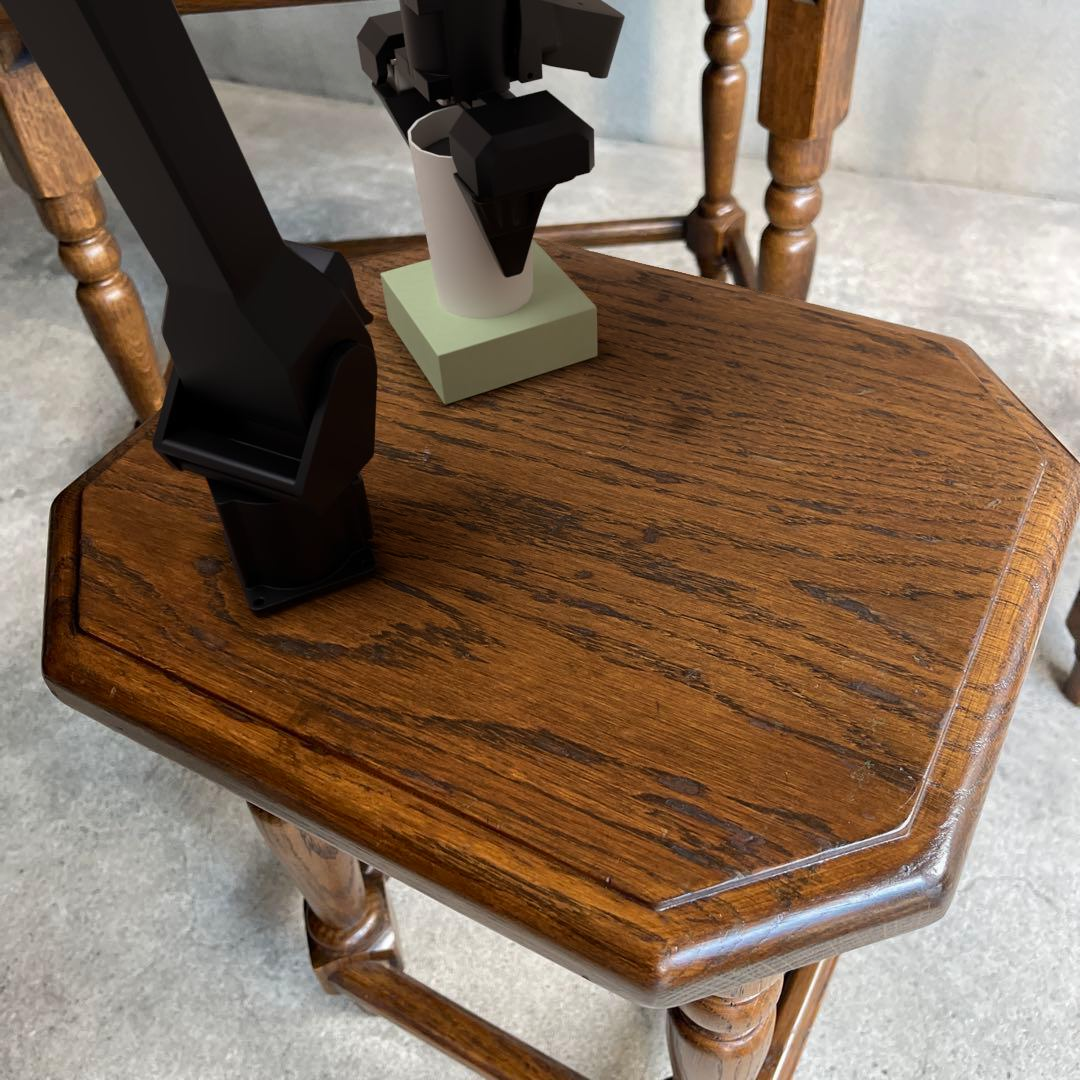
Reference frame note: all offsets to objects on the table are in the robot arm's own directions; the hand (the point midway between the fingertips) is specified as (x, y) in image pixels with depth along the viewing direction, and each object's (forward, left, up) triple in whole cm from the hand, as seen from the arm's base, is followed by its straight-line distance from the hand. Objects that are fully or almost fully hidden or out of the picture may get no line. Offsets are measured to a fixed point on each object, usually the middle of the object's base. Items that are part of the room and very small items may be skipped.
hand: (480, 237), depth 64 cm
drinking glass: (0, 0, -4) cm, 4 cm away
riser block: (0, 0, -7) cm, 7 cm away
